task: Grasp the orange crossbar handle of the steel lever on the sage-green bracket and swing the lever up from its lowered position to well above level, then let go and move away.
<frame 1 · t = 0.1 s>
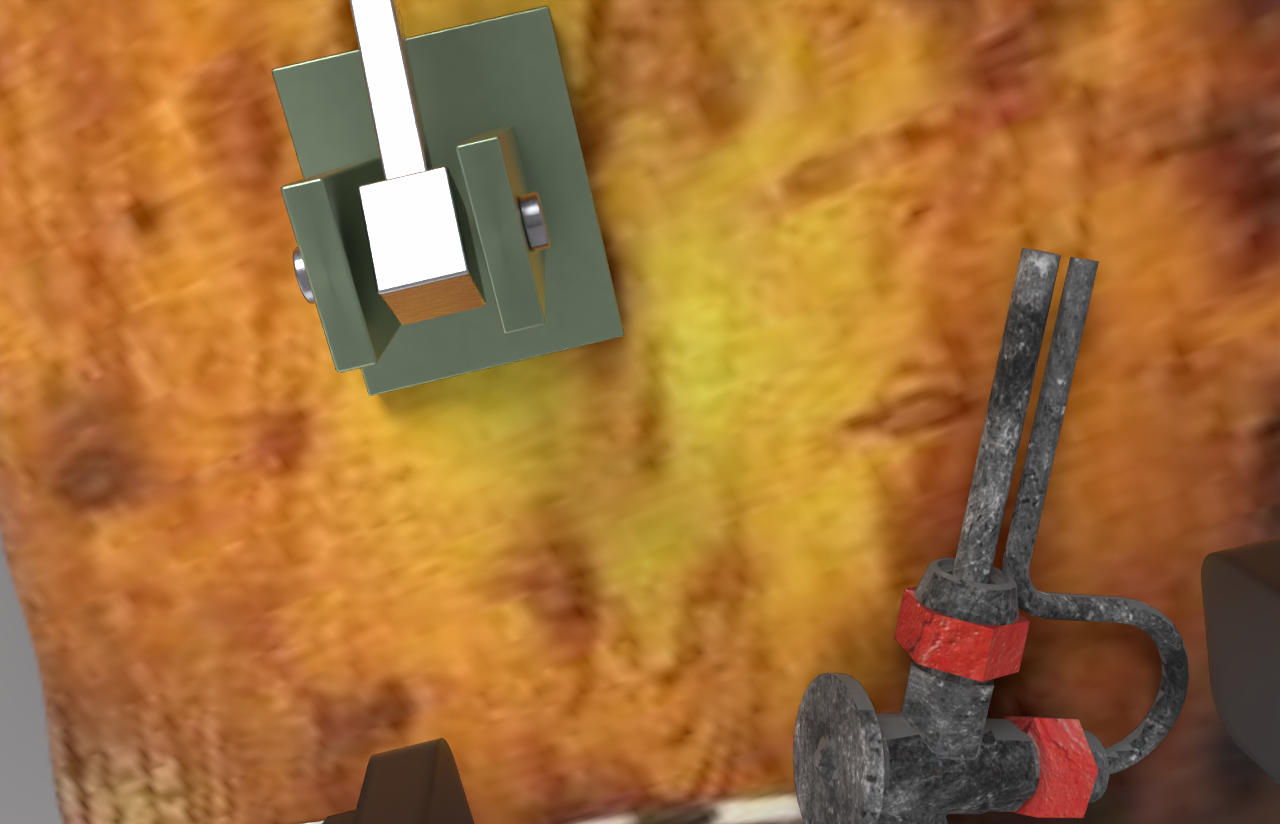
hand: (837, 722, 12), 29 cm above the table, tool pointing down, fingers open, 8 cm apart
valve: (1011, 586, 44), on the table
lever: (384, 53, 29), point 9 cm above the table, hinge at -30.0°
bracket: (457, 205, 39), on the table
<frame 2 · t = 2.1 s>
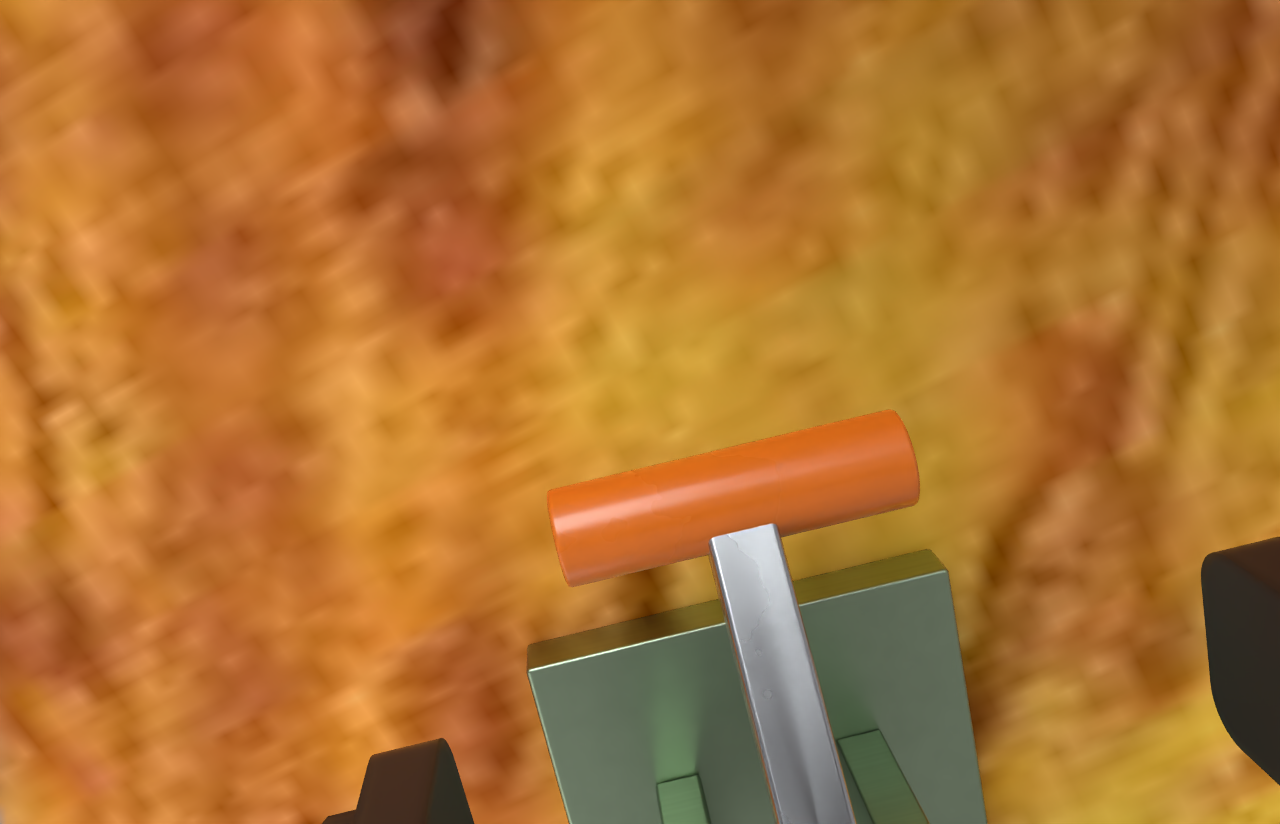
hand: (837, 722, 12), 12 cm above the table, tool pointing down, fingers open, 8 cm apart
bracket: (775, 807, 26), on the table
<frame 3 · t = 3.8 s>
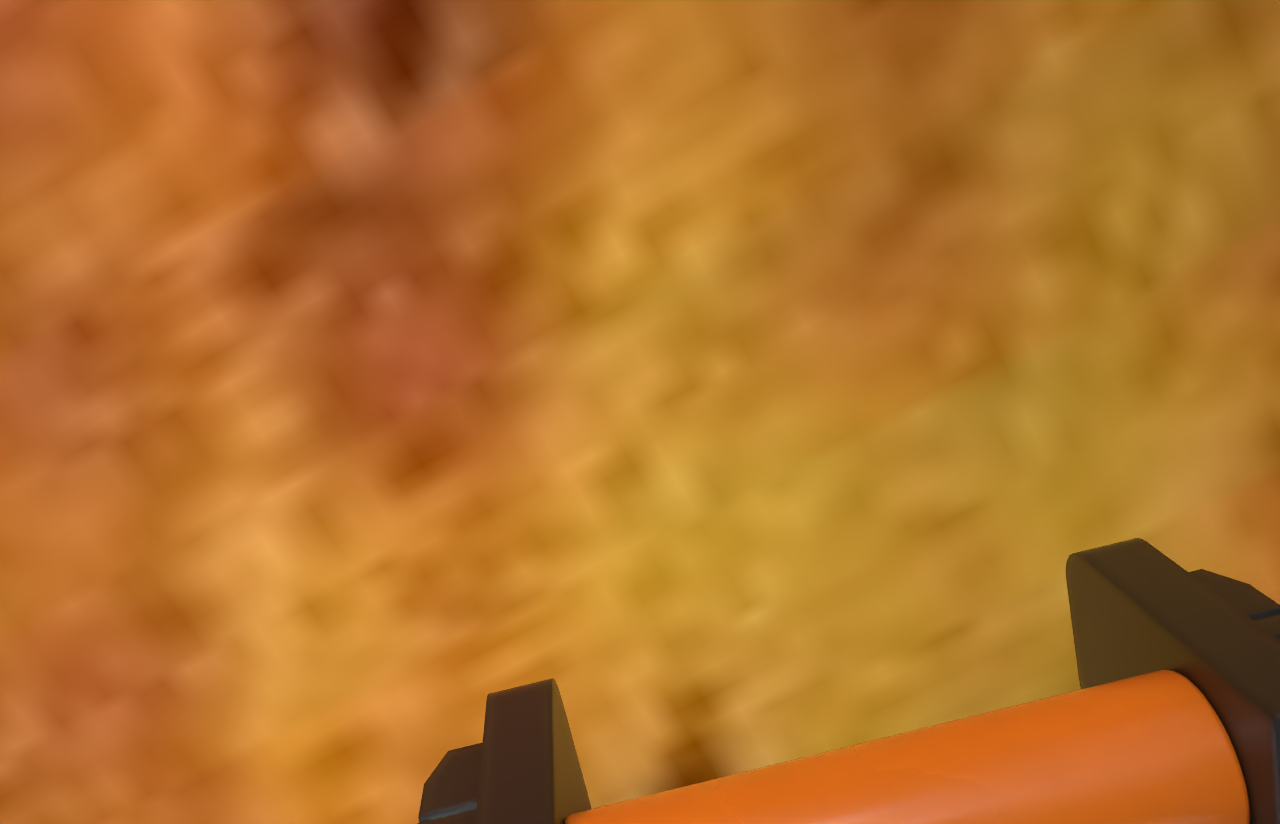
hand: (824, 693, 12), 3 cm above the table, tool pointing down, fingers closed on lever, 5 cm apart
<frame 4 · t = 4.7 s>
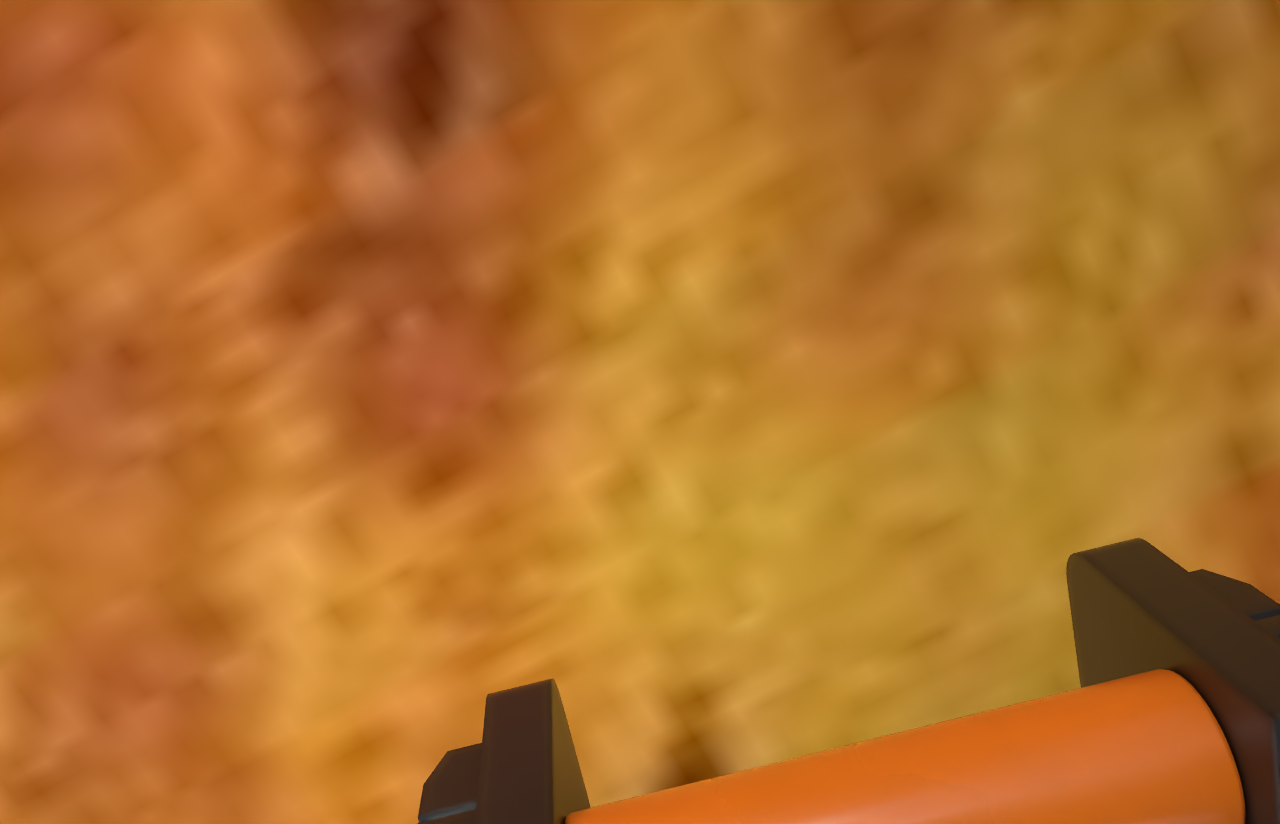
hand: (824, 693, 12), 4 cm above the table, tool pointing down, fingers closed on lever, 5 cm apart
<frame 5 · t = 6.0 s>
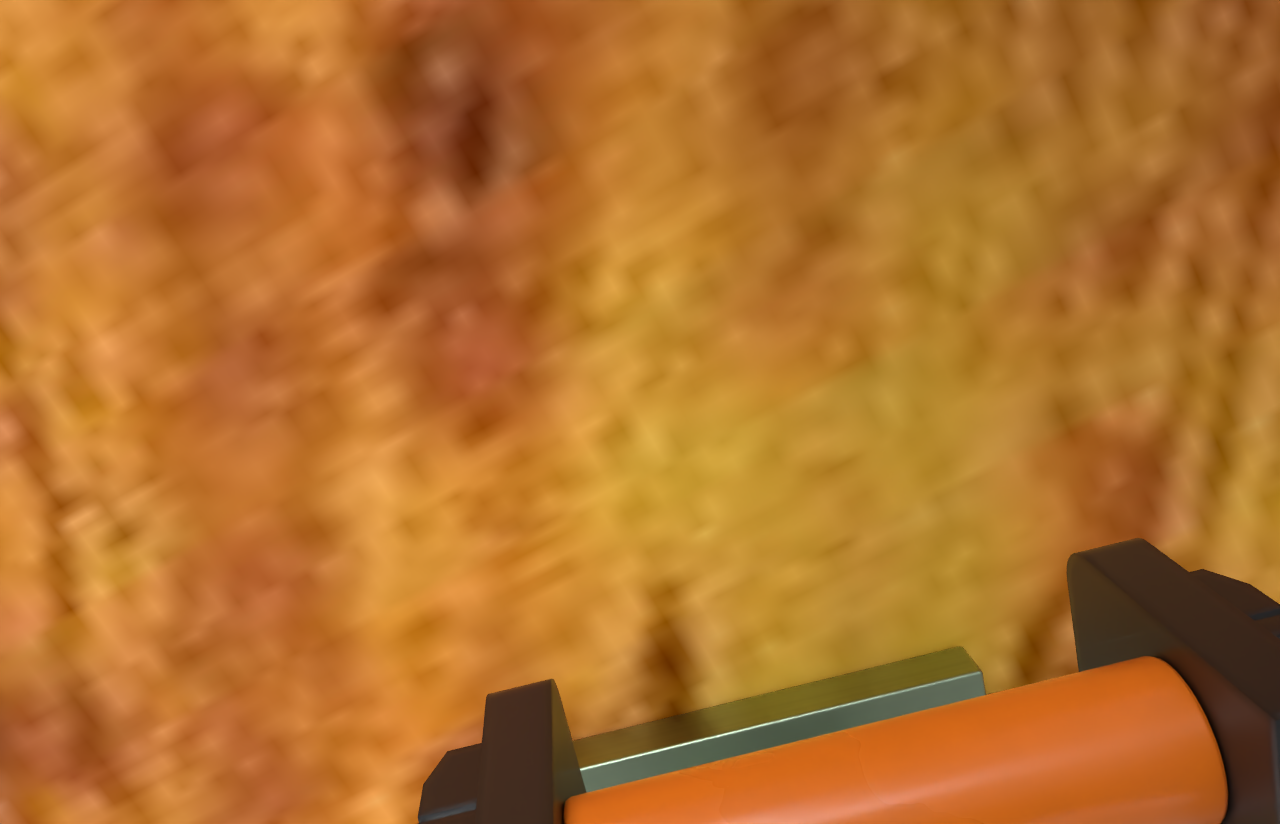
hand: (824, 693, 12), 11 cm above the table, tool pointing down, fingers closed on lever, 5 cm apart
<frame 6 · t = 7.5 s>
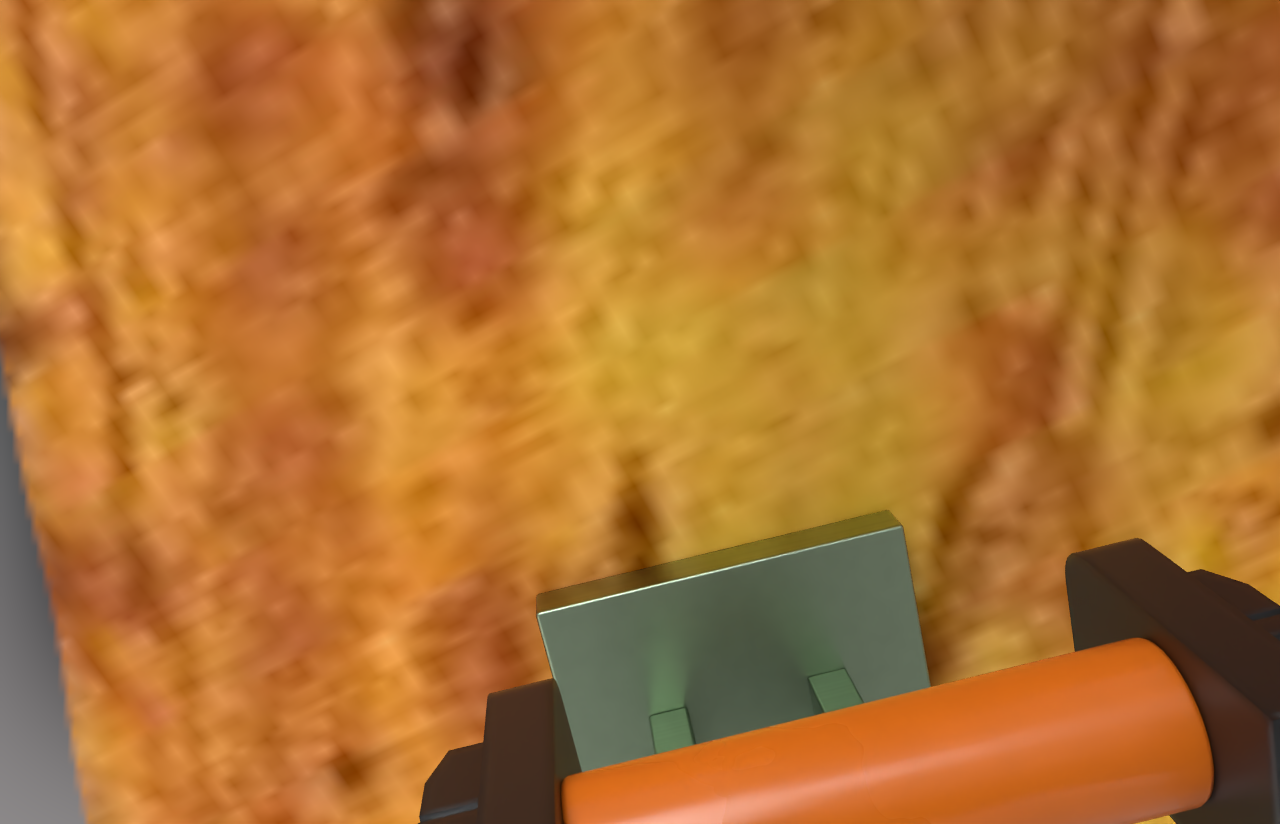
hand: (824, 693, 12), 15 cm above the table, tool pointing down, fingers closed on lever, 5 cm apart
bracket: (755, 742, 30), on the table
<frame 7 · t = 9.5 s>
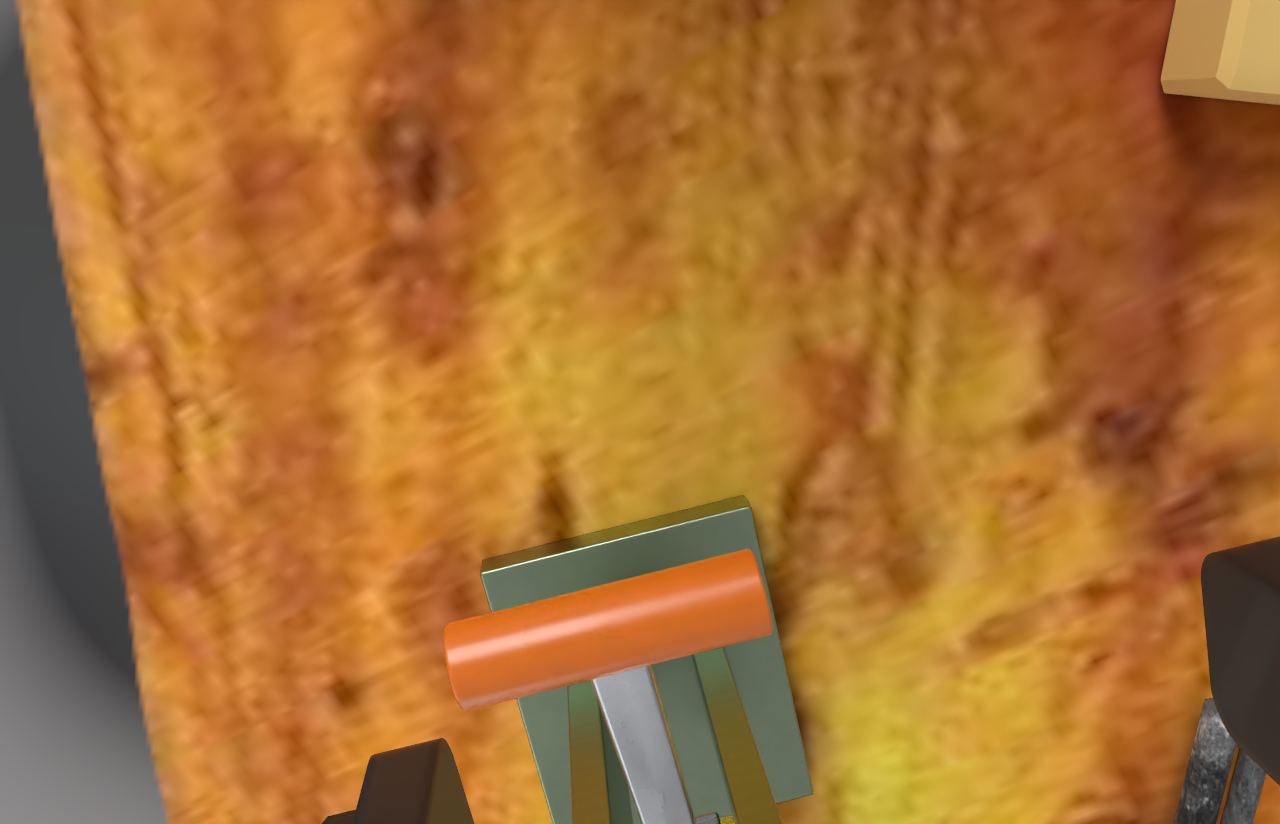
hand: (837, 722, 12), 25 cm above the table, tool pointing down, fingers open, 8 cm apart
lever: (659, 788, 24), point 14 cm above the table, hinge at 29.1°
bracket: (650, 671, 39), on the table
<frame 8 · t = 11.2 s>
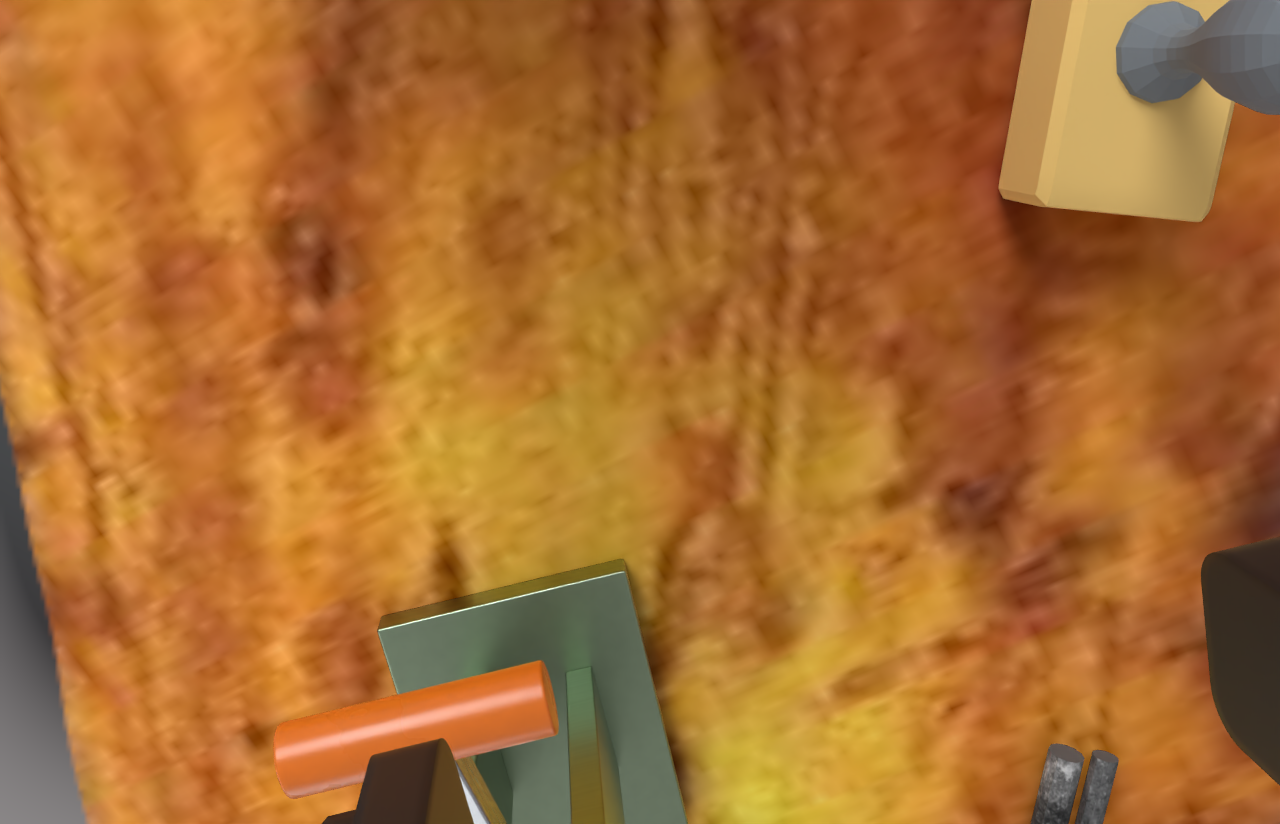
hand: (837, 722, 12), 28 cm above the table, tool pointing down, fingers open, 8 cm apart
rubber stamp: (1100, 55, 38), on the table
bracket: (539, 717, 43), on the table
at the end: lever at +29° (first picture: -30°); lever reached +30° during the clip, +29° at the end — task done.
